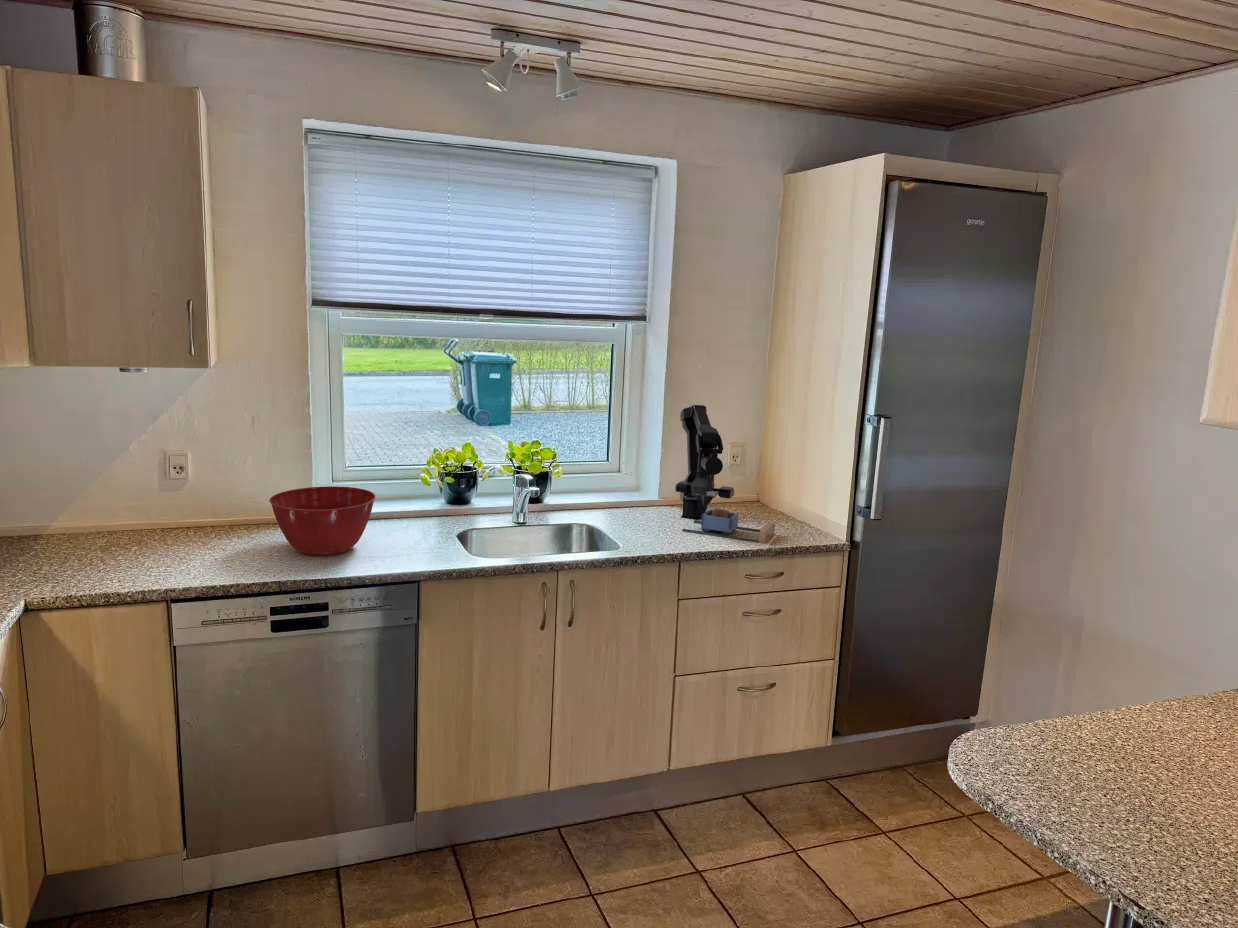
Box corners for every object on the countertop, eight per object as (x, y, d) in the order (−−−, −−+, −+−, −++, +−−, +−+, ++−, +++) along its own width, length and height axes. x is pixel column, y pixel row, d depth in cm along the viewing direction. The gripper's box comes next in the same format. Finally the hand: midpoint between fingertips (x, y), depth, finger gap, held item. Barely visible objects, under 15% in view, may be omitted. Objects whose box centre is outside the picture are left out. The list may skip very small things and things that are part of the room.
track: (682, 532, 285) (682, 520, 285) (694, 523, 298) (695, 511, 297) (764, 544, 276) (765, 532, 275) (773, 534, 288) (774, 522, 288)
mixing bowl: (287, 569, 228) (286, 512, 226) (258, 542, 251) (257, 490, 248) (390, 555, 245) (390, 502, 242) (355, 531, 267) (355, 482, 265)
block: (711, 524, 286) (712, 511, 285) (714, 521, 290) (715, 508, 290) (724, 526, 285) (725, 513, 284) (727, 523, 289) (728, 510, 288)
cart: (700, 532, 286) (702, 514, 284) (708, 526, 294) (709, 509, 293) (730, 536, 282) (731, 519, 281) (737, 530, 290) (738, 513, 289)
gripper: (671, 469, 282) (668, 516, 285) (727, 476, 275) (723, 524, 278) (682, 464, 292) (679, 509, 295) (736, 470, 286) (732, 516, 288)
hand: (703, 514), depth 289 cm, fingers closed
